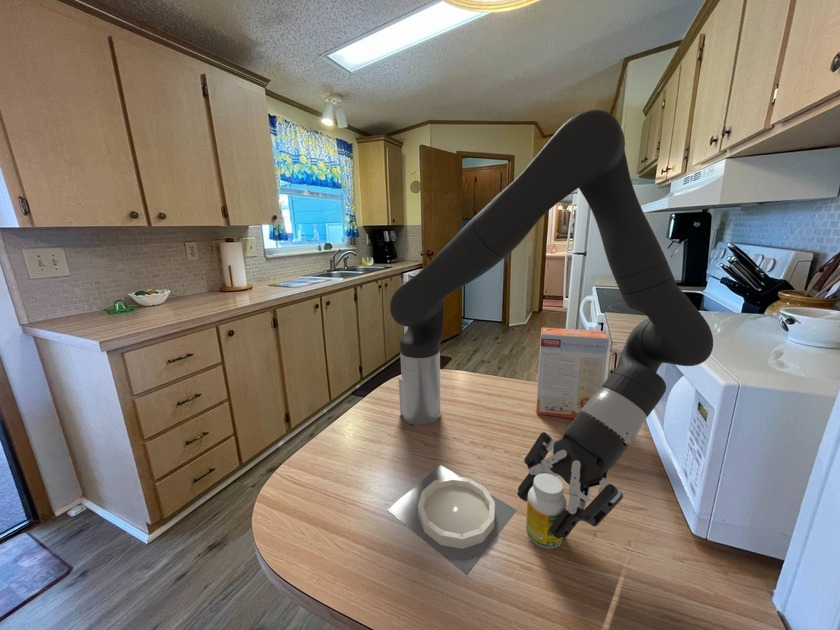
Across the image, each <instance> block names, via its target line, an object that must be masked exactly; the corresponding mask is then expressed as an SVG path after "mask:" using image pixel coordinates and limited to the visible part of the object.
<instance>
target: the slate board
mask: <svg viewBox="0 0 840 630" xmlns="http://www.w3.org/2000/svg"><path fill="white" fill-rule="evenodd" d="M450 476H454V477H461V478H463V477H462V476H460V475H458V474H457V473H455V472H454V471H451V470H450V469H448V468H446V467H445V466H443V465H442V464H440V465H438V467H437V468H436V469H434V470H433V471H432V472H430V473H429V474H428V475H427V476H426V477H425V478H424V479H422V480H421V481H420V482H419V483H417V484H416V485H415V486H414V487H413V488H411V489H410V490H409V491H408V492H407V493H405V494H404V495H403V496H402V497H400V498H399V499H398V500H397V501H396V502H395V503H393V504H392V505H391V506H389V508H388V509H386V511H387V512H388V513H390V514H391V515H392V516H393V517H395V518H396V519H397V520H398V521H400V522H401V523H402V524H404V525H405V526H406V527H407V528H408V529H409V530H410V531H412V532H413V533H415V535H417V536H418V537H419V538H421V539H422V540H423V541H424V542H426V543H427V544H428V545H429V546H431V547H432V548H433V549H435V551H437V552H438V553H440V555H442V556H443V557H444V558H445V559H447V560H448V561H449V562H450V563H451V564H453V565H454V566H455V567H456V568H458V569H459V570H460V571H462V572H463V573H464V574H465V575H468V574H469V573H470V572H471V570H472V569H473V568H474V567H475V565H476V564H477V562H479V560H480V558H481V557H482V556H483V554H484V553H485V552H486V551H487V549H488V548H489V547H490V545H491V544H492V543H493V542H494V540H495V539H496V538H497V536H498V535H499V534H500V533H501V532H502V530H503V528H504V527H505V526H506V524H507V523H508V522H509V521H510V519H512V517H513V515H514V514H515V513H516V512H517V508H514V507H513V506H511V505H509V504H507V502H504V501H502V500H501V499H499V498H497V497H496V496H494V495H492V494H491V493H489V494H490V496H491V497H492V499H493V500H494V502H495V512H494V529H493V530H492V531H491V532H490V534H489V535H488V536H487V537H486V539H485V540H484V541H483V542H482V543H479V544H476V545H473V546H470V547H467V548H464V549H460V548H455V547H449V546H444V545H440V544H439V543H438V542H436V541H435V540H434V539H432V538H431V537H430V536H429V535H427V534H426V533H425V532H424V530H423V527H422V525H421V522H420V519H419V516H418V504H419V500H420V497H421V493H422V491H423V490H424V489H425V488H426V487H427V486H429V485H430V484H431V483H432V482H433V481H434V480H438V479H442V478H446V477H450Z"/></svg>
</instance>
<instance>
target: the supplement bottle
mask: <svg viewBox="0 0 840 630" xmlns="http://www.w3.org/2000/svg"><path fill="white" fill-rule="evenodd" d="M564 509H565V510H567V498H566V496H565V495H564V484H563V482H562V481H561V480H560V479H559V478H558V477H557V476H553V475H551V474H546V473H542V474H538V475H537V476H535V478H534V482H533V486H532V487H531V488H530V490H529V492H528V499H527V501H526V520H525V521H526V523H525V531H526V534H527V536H528V538H529V539H530V540H531V541H532V542H533V543H535V545H538V546H540V547H542V548H546V549H554V548H557V547H559V546H561V544H562V542H563V540H564V538H562V537H561V538H560V539H558V538H556V537H555V536H553V535H552V534H551V532H550V531H549V530H550V528H551V527H552V525H553V524H554V523H555V521H556V520H557V519H558V517H559V516H560V515H561V513H562V512H563V511H564Z"/></svg>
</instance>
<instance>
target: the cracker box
mask: <svg viewBox="0 0 840 630" xmlns="http://www.w3.org/2000/svg"><path fill="white" fill-rule="evenodd" d="M609 342H610V339H609V336H608V335H607V334H606V332H605V331H603V330H592V329H591V330H589V329H571V328H557V327H556V328H555V327H543V326H542V327H541V328H540V342H539V359H538V374H537V390H536V410H535V411H536V412H535V413H536V415H537V414H538V415H542V414H543V415H544V416H549V415H550V416H551V417H556V416H557V417H558V418H564V419H571V420H574V419H575V417H576V416H577V415H578V413H579V412H580V411H581V410H582V408H583V407H584V406H585V404H586V403H587V402H588V400H589V399H590V398H591V397H592V396H593V395H594V394H595V393H596V392H597V391H598V390H599V389H600V388H601V387H602V385H603V384H604V383H605V374H606V366H607V359H608V349H609ZM543 415H542V416H543Z"/></svg>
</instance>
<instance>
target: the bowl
mask: <svg viewBox="0 0 840 630" xmlns="http://www.w3.org/2000/svg"><path fill="white" fill-rule="evenodd" d="M461 477H462V476H460V477H454V476H450V477H446V478H442V479H438V480H434V481H433V482H432V483H431V484H430V485H429V486H427V487H426V488H425V489H424V490H423V491H422V493H421V497H420V500H419V504H418V516H419V519H420V522H421V525H422V527H423V530H424V532H425V533H426V534H427V535H429V536H430V537H431V538H432V539H434V540H435V541H436V542H438V543H439V544H440V545H444V546H449V547H455V548H460V549H464V548H467V547H470V546H473V545H476V544H479V543H482V542H483V541H484V540H485V539H486V537H487V536H488V535H489V534H490V532H491V531H492V530H493V529H494V512H495V502H494V500H493V499H492V497H491V496H490V494H491V493H489V491H488V490H487V488H486V487H485V486H483V485H481V484H480V483H477V482H476V481H474V480H472V479H471V478H469V477H467V478H466V477H462V478H461Z"/></svg>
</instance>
